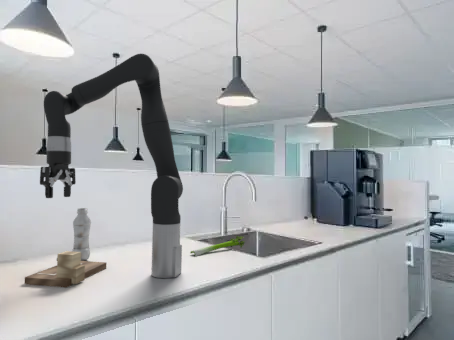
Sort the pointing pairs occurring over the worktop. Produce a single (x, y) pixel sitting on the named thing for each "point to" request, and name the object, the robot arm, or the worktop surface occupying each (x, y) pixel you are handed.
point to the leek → (220, 246)
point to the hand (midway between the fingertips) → (58, 197)
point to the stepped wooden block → (70, 266)
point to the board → (50, 278)
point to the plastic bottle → (82, 233)
